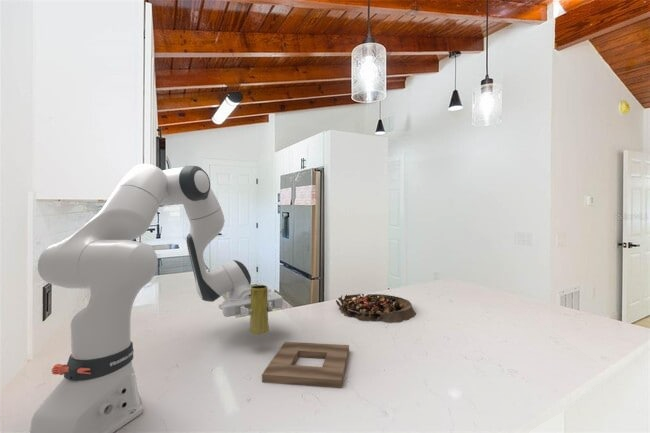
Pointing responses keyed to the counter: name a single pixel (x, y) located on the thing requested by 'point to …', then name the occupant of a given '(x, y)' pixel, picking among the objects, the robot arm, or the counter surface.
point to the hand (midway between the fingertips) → (260, 310)
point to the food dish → (376, 308)
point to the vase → (259, 310)
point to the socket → (323, 376)
